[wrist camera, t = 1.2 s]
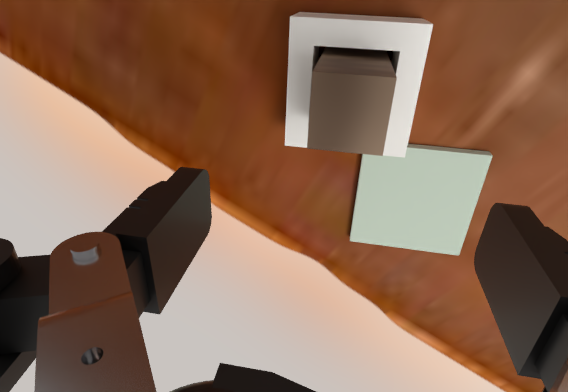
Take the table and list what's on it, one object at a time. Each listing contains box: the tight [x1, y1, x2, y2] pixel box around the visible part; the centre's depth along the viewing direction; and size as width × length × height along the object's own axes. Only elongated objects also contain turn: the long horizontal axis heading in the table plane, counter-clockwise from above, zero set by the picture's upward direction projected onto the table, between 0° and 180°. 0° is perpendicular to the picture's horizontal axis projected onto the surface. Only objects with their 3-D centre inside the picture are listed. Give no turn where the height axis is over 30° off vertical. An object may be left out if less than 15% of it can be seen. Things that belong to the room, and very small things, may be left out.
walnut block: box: [307, 46, 397, 156], centre depth 23 cm, size 4×4×9 cm
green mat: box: [350, 144, 492, 255], centre depth 30 cm, size 9×9×1 cm
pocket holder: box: [285, 12, 433, 158], centre depth 25 cm, size 8×8×4 cm
